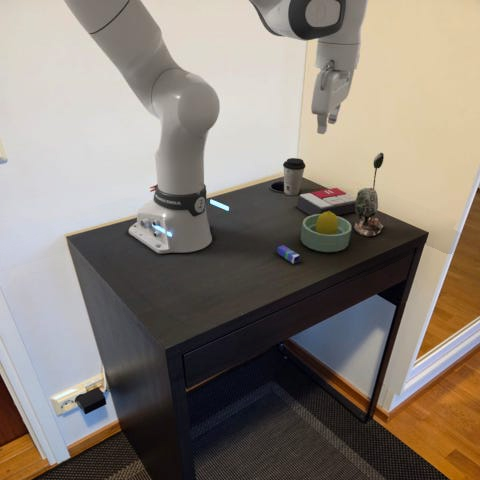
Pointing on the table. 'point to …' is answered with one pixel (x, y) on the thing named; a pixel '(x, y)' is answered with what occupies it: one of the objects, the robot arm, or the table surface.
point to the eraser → (288, 254)
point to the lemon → (327, 223)
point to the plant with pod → (368, 206)
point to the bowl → (325, 235)
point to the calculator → (326, 202)
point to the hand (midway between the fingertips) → (326, 128)
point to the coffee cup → (293, 175)
